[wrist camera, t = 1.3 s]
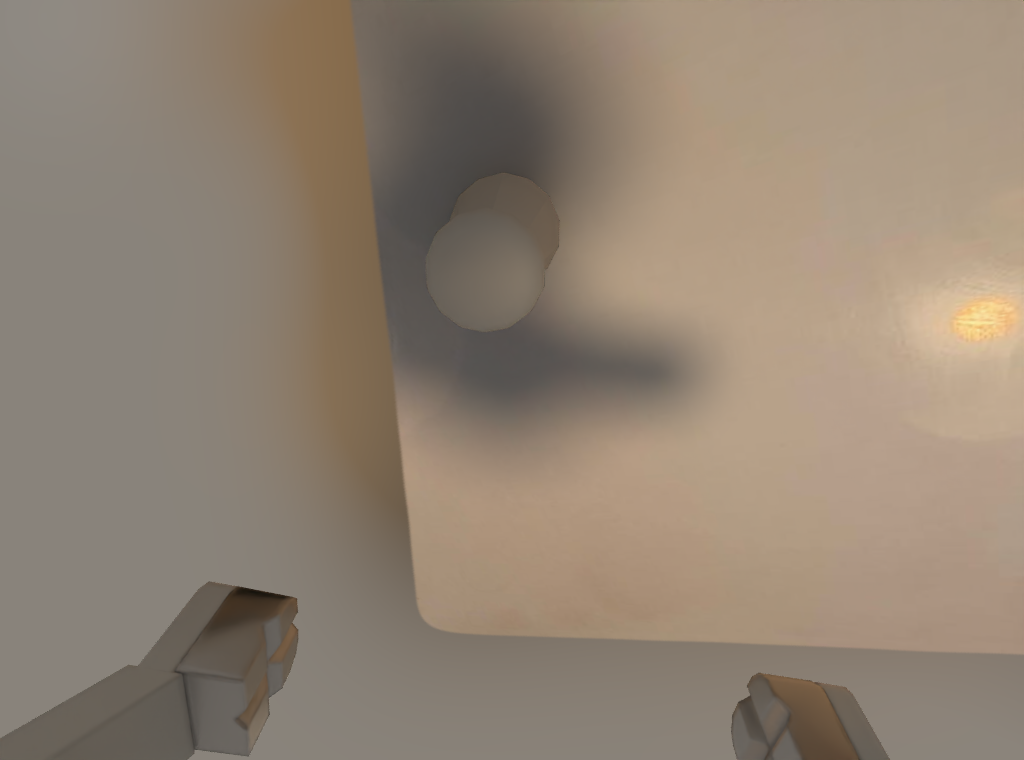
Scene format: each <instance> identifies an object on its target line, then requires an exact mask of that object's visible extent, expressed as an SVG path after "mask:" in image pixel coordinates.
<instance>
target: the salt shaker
mask: <svg viewBox="0 0 1024 760" xmlns="http://www.w3.org/2000/svg"><path fill="white" fill-rule="evenodd" d="M559 223H560V220H559V218H558V215H557V213H556V211H555V208H554V206H553V204H552V201H551V199H550V196H549V195H548V194H546V193H545V192H544V191H543V190H542V189H541V188H539V187H538V186H537V185H536V184H535V183H534V182H532V181H531V180H530V179H528V178H524V177H520V176H516V175H512V174H509V173H505V172H503V173H499V174H495V175H491V176H488V177H484V178H480V179H478V180H477V181H476V182H475V183H473V184H472V185H471V186H470V187H469V188H467V189H466V190H465V191H464V192H463V193H461V194H460V195H459V197H458V199H457V202H456V205H455V207H454V210H453V212H452V215H451V218H450V222H448V223H447V224H446V225H445V226H444V227H442V228H441V229H440V230H439V231H438V232H436V234H435V237H434V240H433V242H432V245H431V247H430V250H429V252H428V255H427V257H426V262H425V263H426V280H427V289H428V291H429V293H430V295H431V296H432V298H433V300H434V302H435V304H436V305H437V307H438V309H439V311H440V312H442V313H443V314H444V315H445V316H447V317H448V318H449V319H451V320H452V321H453V322H454V323H456V324H457V325H458V326H460V327H463V328H467V329H472V330H476V331H481V332H490V331H495V330H501V329H506V328H510V327H511V326H512V325H514V324H515V323H516V322H518V321H519V320H520V319H522V318H523V317H524V316H526V315H527V314H528V313H529V312H530V311H531V310H532V309H533V307H534V305H535V303H536V301H537V299H538V298H539V296H540V294H541V292H542V290H543V288H544V286H545V270H546V269H547V268H548V266H549V264H550V262H551V260H552V258H553V256H554V254H555V252H556V251H557V249H558V247H559Z"/></svg>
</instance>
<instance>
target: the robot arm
mask: <svg viewBox="0 0 1024 760" xmlns="http://www.w3.org/2000/svg"><path fill="white" fill-rule="evenodd" d="M297 613H298V607H297V598H294V597H290V596H285V595H280V594H274V593H269V592H264V591H259V590H254V589H249V588H244V587H238V586H232V585H227V584H220V583H215V582H208V583H206V584H205V585H204V586H202V587H201V588H199V589H198V590H197V592H196V593H195V594H194V596H193V597H192V598H191V599H190V601H189V602H188V603H187V604H186V606H185V607H184V608H183V609H182V611H181V612H180V613H179V615H178V616H177V617H176V618H175V620H174V621H173V622H172V624H171V625H170V626H169V627H168V629H167V630H166V631H165V632H164V634H163V635H162V636H161V637H160V639H159V640H158V641H157V643H156V644H155V645H154V646H153V647H152V649H151V650H150V652H149V653H148V654H147V655H146V656H145V658H144V659H143V660H142V661H141V663H140V664H139V665H138V666H132V665H127V666H126V667H124V668H122V669H120V670H119V671H117V672H115V673H113V674H112V675H110V676H108V677H106V678H105V679H103V680H101V681H100V682H98V683H96V684H94V685H93V686H91V687H89V688H87V689H86V690H84V691H82V692H80V693H79V694H77V695H75V696H73V697H72V698H70V699H68V700H66V701H65V702H63V703H61V704H59V705H58V706H56V707H54V708H52V709H51V710H49V711H47V712H45V713H44V714H42V715H40V716H38V717H37V718H35V719H33V720H32V721H30V722H28V723H27V724H25V725H23V726H21V727H19V728H18V729H16V730H14V731H12V732H11V733H9V734H7V735H5V736H4V737H2V738H0V760H187V759H188V758H189V757H191V756H192V755H193V754H194V750H203V751H210V752H218V753H226V754H234V755H241V756H249V755H250V753H251V751H252V749H253V747H254V745H255V743H256V741H257V739H258V737H259V735H260V733H261V731H262V729H263V726H264V725H265V723H266V720H267V719H268V716H269V698H270V697H271V696H272V695H274V694H275V693H276V692H278V691H279V690H280V689H282V688H283V685H284V683H285V681H286V679H287V677H288V675H289V673H290V670H291V667H292V664H293V660H294V658H295V655H296V651H297V644H298V629H297V628H296V627H295V626H294V624H293V623H292V622H293V620H294V618H295V616H296V614H297ZM747 687H748V690H749V693H750V696H749V697H747V698H745V699H744V700H741V701H739V702H738V704H737V706H736V708H735V711H734V712H733V715H732V727H731V733H732V740H733V747H734V750H735V754H736V757H737V760H890V759H889V757H888V755H887V754H886V752H885V750H884V748H883V747H882V745H881V743H880V741H879V739H878V738H877V736H876V734H875V732H874V731H873V729H872V727H871V725H870V724H869V722H868V720H867V718H866V716H865V715H864V713H863V711H862V709H861V708H860V706H859V704H858V702H857V701H856V699H855V697H854V696H853V694H852V693H851V692H850V691H849V690H848V689H847V688H846V687H842V686H837V685H830V684H824V683H818V682H812V681H810V680H803V679H797V678H790V677H783V676H776V675H770V674H762V673H758V674H756V675H754V676H752V677H751V679H750V681H749V683H748V685H747Z"/></svg>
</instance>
